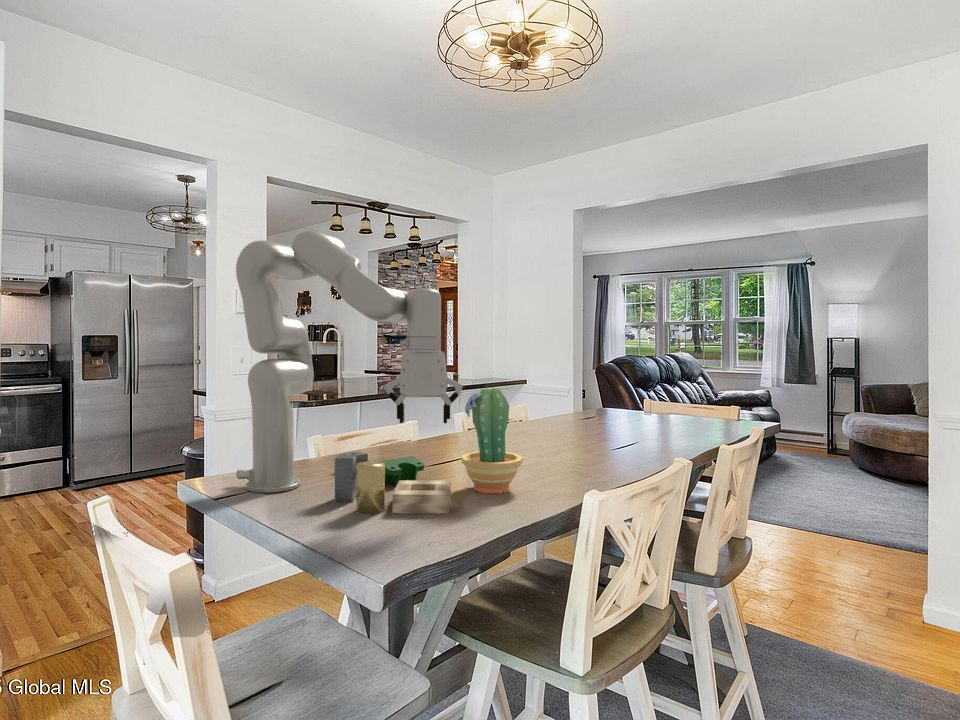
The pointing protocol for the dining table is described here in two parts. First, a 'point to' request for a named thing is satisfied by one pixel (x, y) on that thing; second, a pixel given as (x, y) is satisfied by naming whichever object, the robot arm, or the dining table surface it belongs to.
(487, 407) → the potted cactus
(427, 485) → the socket block
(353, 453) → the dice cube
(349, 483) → the square bit
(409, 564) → the dining table surface
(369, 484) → the round bit
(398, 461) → the clamp
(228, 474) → the dining table surface
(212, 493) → the dining table surface
